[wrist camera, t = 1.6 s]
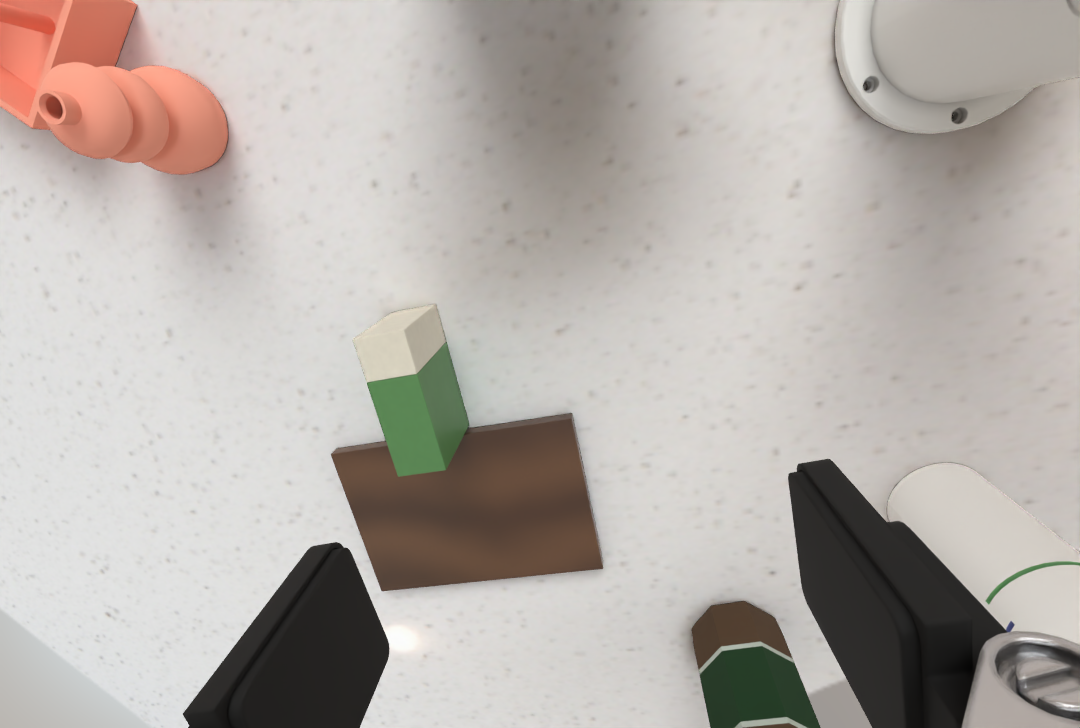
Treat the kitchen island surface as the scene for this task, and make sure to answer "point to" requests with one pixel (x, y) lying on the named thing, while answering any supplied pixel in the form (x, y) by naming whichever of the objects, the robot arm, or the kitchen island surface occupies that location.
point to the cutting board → (476, 508)
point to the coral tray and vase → (103, 88)
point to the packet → (413, 389)
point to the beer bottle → (748, 670)
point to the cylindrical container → (993, 548)
